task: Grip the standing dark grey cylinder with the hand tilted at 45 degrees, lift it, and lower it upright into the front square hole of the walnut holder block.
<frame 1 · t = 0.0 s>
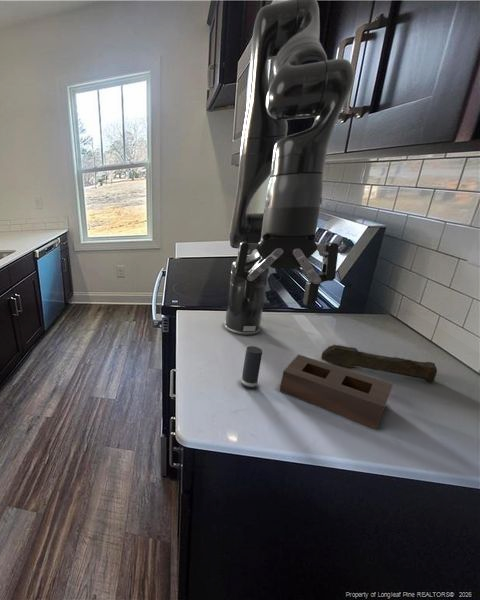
hand: (277, 303, 55), 22 cm above the countertop, tool pointing down, fingers open, 8 cm apart
dark grey cylinder: (248, 385, 69), on the countertop
hand tool: (372, 371, 71), on the countertop
holder: (330, 397, 64), on the countertop
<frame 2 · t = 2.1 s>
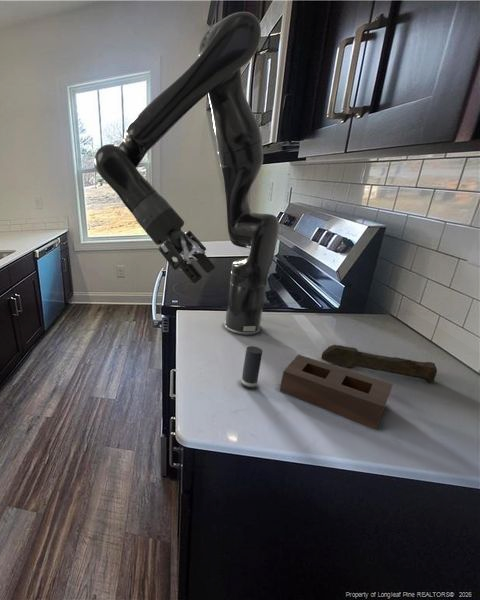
hand: (205, 275, 68), 24 cm above the countertop, tool tilted 45°, fingers open, 8 cm apart
nothing on the countertop moved.
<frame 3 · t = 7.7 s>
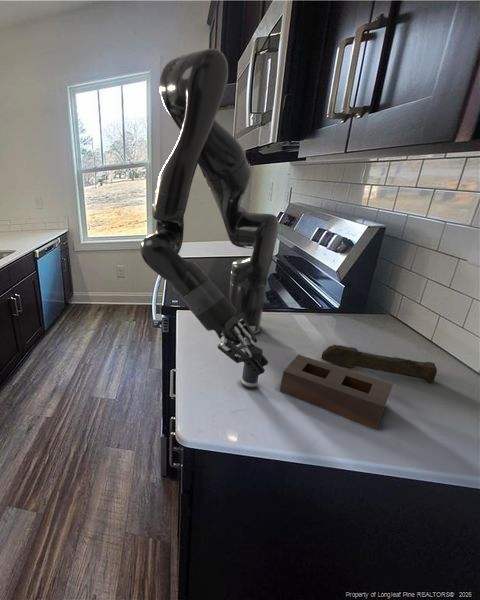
hand: (262, 368, 66), 5 cm above the countertop, tool tilted 45°, fingers closed on dark grey cylinder, 3 cm apart
dark grey cylinder: (248, 385, 69), on the countertop, touching gripper
everything else where it was.
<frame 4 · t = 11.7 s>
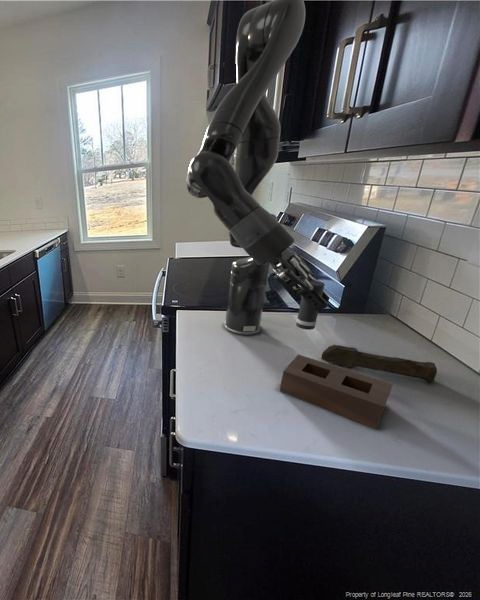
hand: (323, 305, 59), 20 cm above the countertop, tool tilted 45°, fingers closed on dark grey cylinder, 3 cm apart
dark grey cylinder: (305, 326, 62), point 15 cm above the countertop, touching gripper
everything else where it was.
when the fingers open (6 cm above the countertop, at t = 15.9 s): dark grey cylinder drops 2 cm, resting in holder.
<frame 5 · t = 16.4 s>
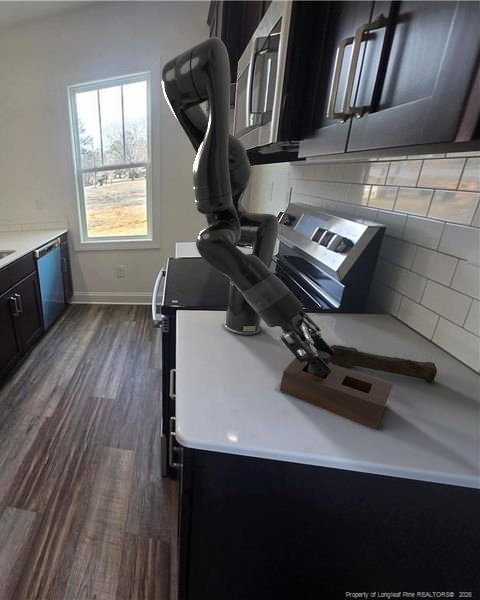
hand: (327, 363, 63), 7 cm above the countertop, tool tilted 45°, fingers open, 7 cm apart
dark grey cylinder: (311, 391, 66), resting in holder
everything else where it was.
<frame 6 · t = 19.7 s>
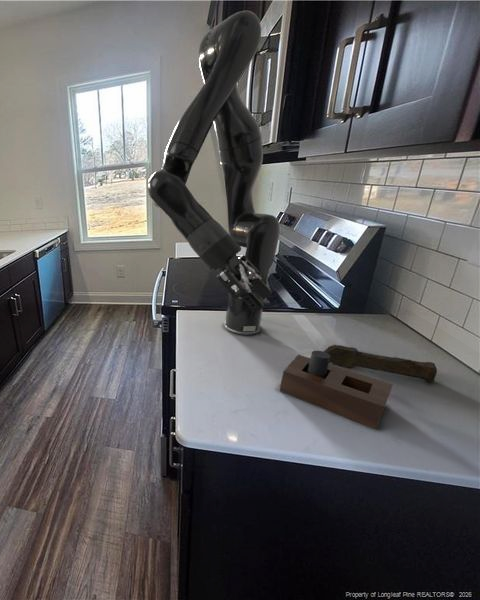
hand: (263, 302, 66), 18 cm above the countertop, tool tilted 45°, fingers open, 8 cm apart
nothing on the countertop moved.
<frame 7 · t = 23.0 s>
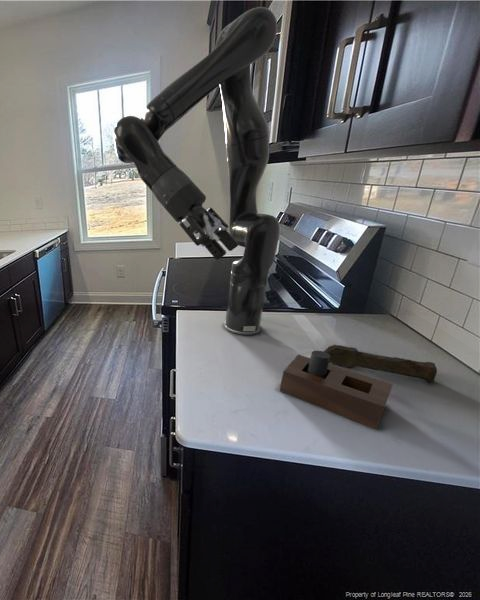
hand: (228, 252, 65), 29 cm above the countertop, tool tilted 45°, fingers open, 8 cm apart
nothing on the countertop moved.
at the end: dark grey cylinder 0.2 cm from the target spot in the holder, point 0.0 cm above the holder's base; dark grey cylinder tilted 0°; the gripper is holding nothing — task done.
